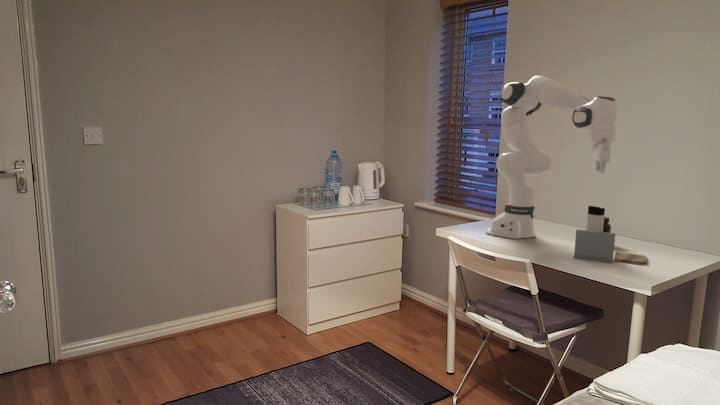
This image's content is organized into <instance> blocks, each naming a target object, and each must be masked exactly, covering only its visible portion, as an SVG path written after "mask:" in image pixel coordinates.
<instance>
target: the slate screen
mask: <svg viewBox="0 0 720 405" xmlns="http://www.w3.org/2000/svg"><path fill="white" fill-rule="evenodd" d="M615 242H616V233H614V232H611V233H607V232H597V231H588V230H586V229H578V228H577V229H576V231H575V242H574V243H575V245H574V254H573V259H576V260H585V261H591V262H601V263H606V264H607V263H608V264H613V262H614V252H615Z"/></svg>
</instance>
